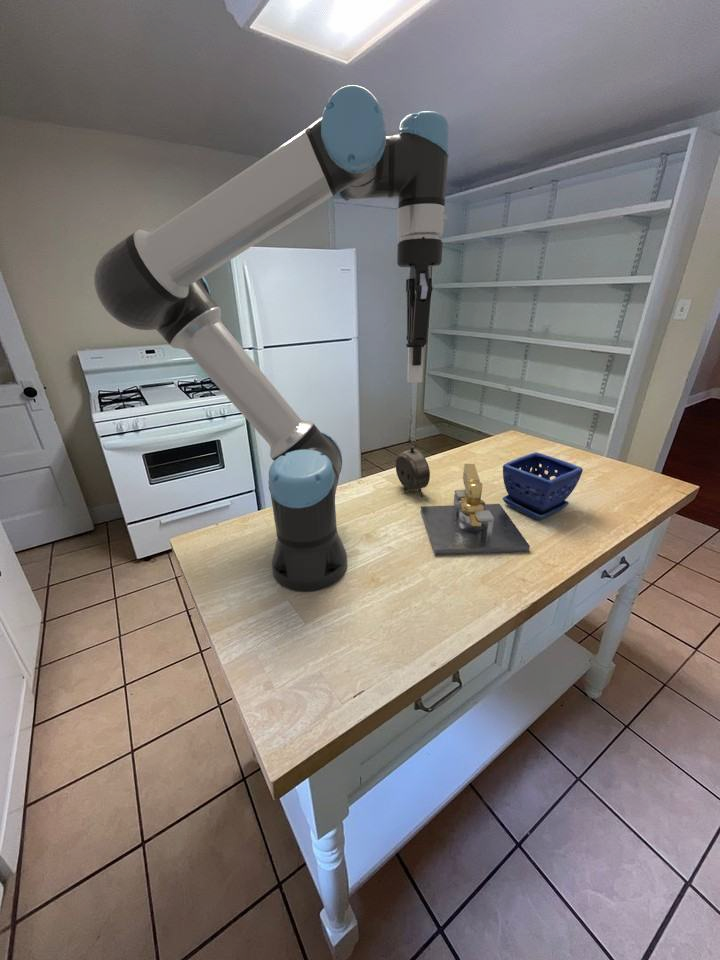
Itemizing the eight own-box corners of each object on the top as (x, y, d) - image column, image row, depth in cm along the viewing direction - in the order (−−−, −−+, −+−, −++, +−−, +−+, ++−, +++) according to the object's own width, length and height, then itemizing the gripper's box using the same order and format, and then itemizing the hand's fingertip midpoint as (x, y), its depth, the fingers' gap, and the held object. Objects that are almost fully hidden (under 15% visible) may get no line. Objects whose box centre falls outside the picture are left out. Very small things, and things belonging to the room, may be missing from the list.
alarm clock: (429, 497, 103) (433, 441, 96) (413, 502, 101) (415, 444, 94) (407, 481, 112) (409, 429, 105) (391, 486, 110) (392, 432, 103)
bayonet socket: (434, 555, 81) (436, 526, 77) (420, 511, 97) (421, 486, 94) (528, 552, 81) (534, 523, 78) (498, 508, 97) (502, 483, 94)
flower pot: (541, 528, 89) (551, 482, 84) (495, 504, 99) (501, 462, 94) (574, 511, 95) (585, 467, 90) (527, 490, 105) (535, 450, 100)
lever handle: (488, 526, 80) (492, 498, 78) (463, 525, 81) (466, 497, 78) (477, 488, 96) (480, 464, 93) (456, 487, 97) (458, 463, 94)
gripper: (451, 233, 58) (441, 388, 69) (434, 243, 70) (427, 374, 80) (402, 234, 58) (399, 389, 69) (393, 244, 70) (392, 375, 80)
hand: (414, 381), depth 74 cm, fingers closed
